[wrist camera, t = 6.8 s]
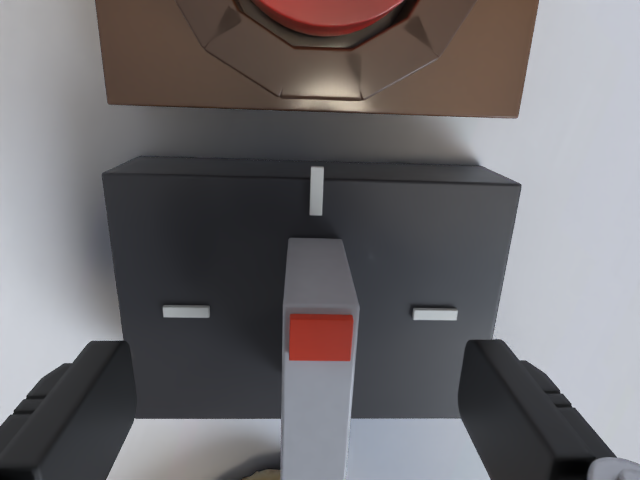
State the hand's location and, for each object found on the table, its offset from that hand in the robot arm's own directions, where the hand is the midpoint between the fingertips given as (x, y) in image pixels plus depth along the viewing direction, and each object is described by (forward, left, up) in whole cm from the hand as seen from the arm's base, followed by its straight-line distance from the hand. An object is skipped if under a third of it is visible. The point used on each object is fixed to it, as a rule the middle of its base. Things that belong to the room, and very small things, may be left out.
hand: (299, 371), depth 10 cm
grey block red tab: (0, 0, -3) cm, 3 cm away
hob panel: (0, 0, -6) cm, 6 cm away
